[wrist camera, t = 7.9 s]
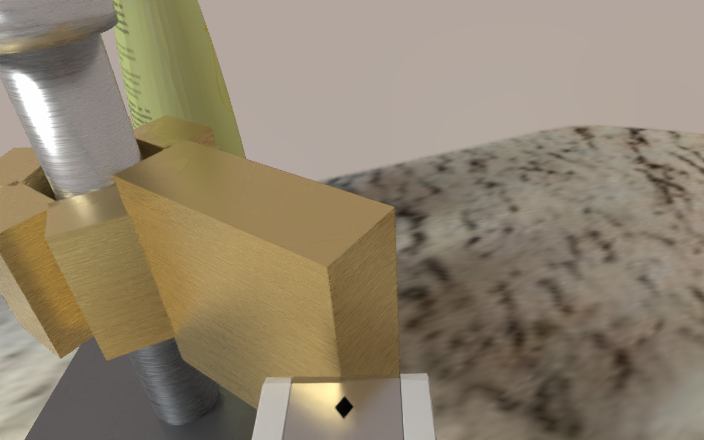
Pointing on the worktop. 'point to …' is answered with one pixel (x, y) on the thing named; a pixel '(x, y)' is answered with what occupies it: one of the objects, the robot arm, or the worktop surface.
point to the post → (85, 177)
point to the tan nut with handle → (203, 263)
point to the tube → (173, 67)
